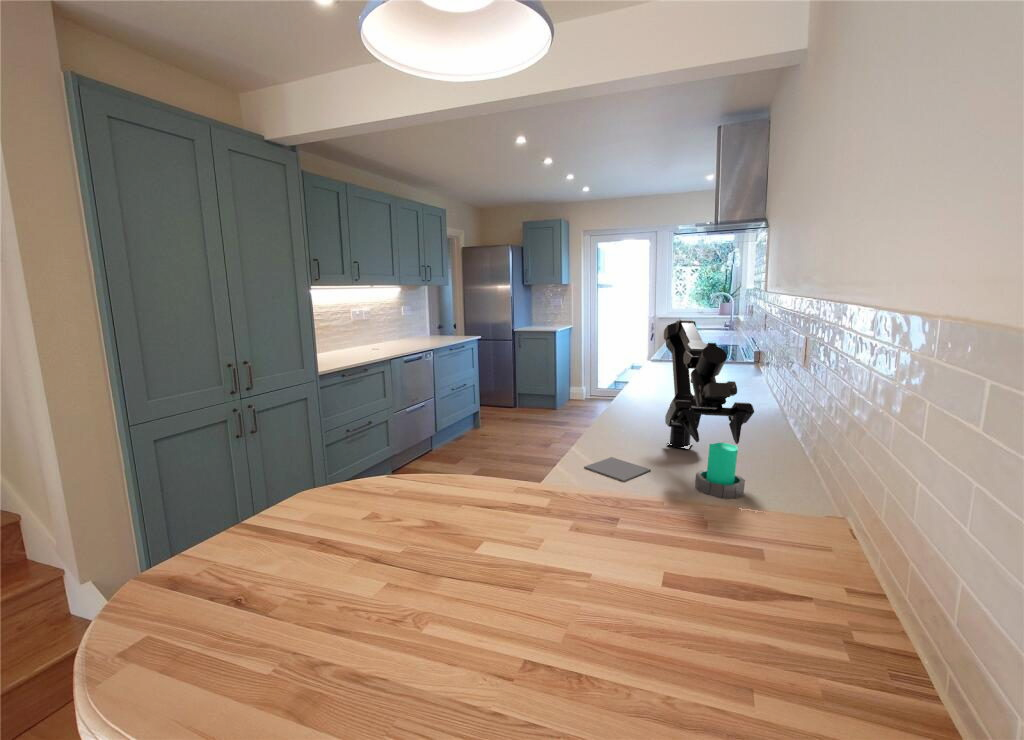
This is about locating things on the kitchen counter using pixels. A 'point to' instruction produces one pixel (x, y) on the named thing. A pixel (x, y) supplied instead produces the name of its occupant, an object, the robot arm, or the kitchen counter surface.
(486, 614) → the kitchen counter surface
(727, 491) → the ring holder
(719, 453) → the candle
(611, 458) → the mat
